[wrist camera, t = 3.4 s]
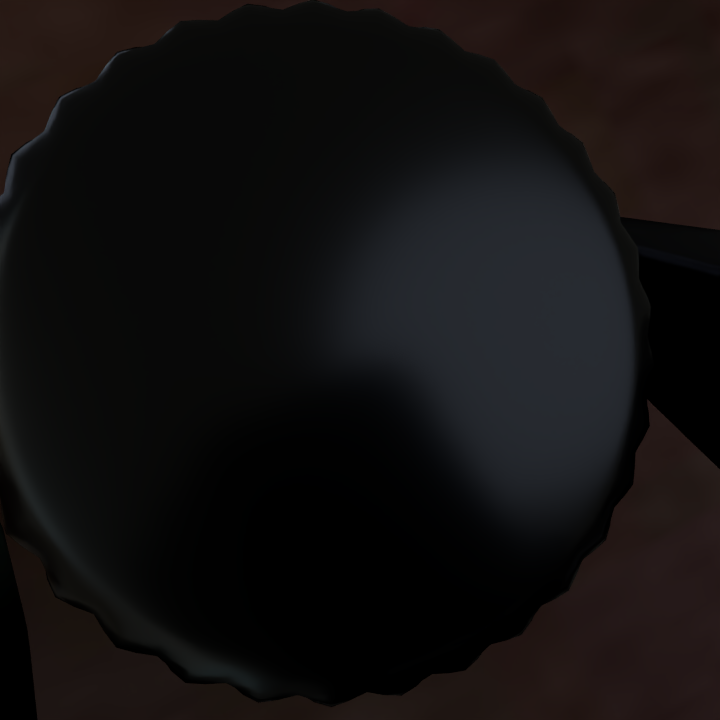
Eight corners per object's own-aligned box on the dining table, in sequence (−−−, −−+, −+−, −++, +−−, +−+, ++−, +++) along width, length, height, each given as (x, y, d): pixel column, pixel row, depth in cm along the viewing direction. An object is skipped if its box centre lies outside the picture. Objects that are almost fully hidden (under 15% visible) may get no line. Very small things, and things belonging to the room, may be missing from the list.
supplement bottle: (144, 511, 14) (-318, 1049, 2) (143, 264, 15) (-252, -264, 3) (386, 494, 16) (805, 778, 4) (379, 270, 16) (737, -63, 4)
